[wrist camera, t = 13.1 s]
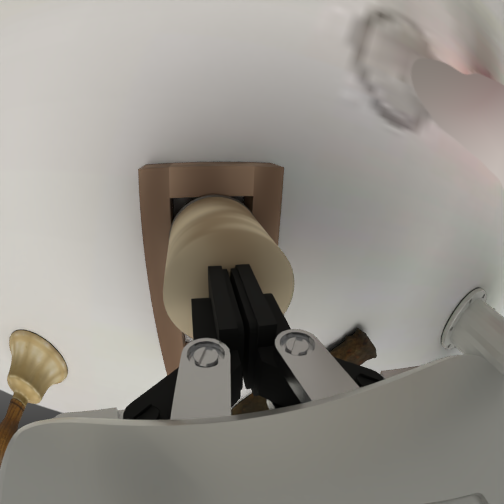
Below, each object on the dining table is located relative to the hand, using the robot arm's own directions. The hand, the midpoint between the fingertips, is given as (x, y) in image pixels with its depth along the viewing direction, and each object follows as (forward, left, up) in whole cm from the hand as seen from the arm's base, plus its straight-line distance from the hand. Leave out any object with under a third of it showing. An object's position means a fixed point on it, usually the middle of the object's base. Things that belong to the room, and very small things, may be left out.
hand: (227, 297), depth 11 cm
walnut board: (0, +4, -10) cm, 11 cm away
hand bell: (+21, +14, -10) cm, 28 cm away
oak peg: (0, 0, -10) cm, 10 cm away
